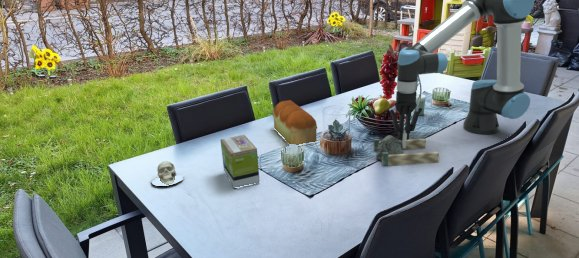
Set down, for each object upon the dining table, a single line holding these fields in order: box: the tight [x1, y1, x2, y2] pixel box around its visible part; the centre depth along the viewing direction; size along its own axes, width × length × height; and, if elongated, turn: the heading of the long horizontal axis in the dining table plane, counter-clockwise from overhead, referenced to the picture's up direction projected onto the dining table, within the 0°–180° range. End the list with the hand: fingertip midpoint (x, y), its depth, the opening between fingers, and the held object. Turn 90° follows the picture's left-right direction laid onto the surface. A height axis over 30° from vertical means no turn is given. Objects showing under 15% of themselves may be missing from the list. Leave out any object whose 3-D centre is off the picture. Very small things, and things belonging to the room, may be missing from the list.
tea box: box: [220, 134, 261, 188], centre depth 157 cm, size 15×10×15 cm
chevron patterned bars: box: [372, 138, 440, 167], centre depth 172 cm, size 22×16×5 cm
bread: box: [272, 99, 318, 145], centre depth 196 cm, size 25×12×15 cm, turn 20°
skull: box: [156, 160, 177, 185], centre depth 160 cm, size 12×10×10 cm
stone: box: [375, 134, 404, 161], centre depth 171 cm, size 10×10×10 cm
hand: (403, 147), depth 171 cm, fingers closed
